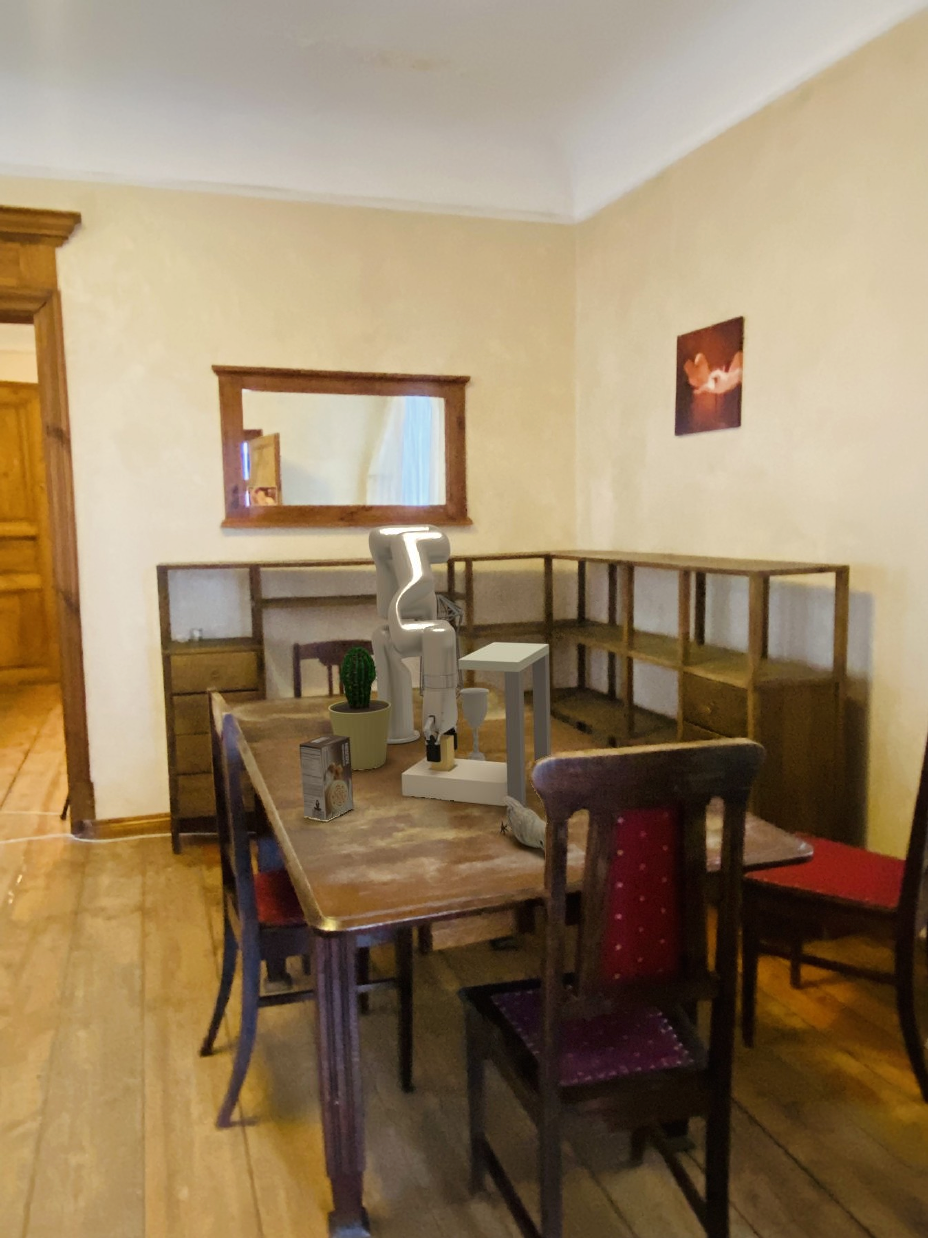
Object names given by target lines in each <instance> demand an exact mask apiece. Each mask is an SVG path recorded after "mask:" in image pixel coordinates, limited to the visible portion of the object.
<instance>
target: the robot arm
mask: <svg viewBox="0 0 928 1238" xmlns="http://www.w3.org/2000/svg"><path fill="white" fill-rule="evenodd" d="M368 548H369V553H370V555H371V557H372V560H373V563H374V566H375V572H376V574H375V575H376V578H375V579H376V609H377V614H378V615H379V617H380V618H381V619H383V620H386V621H387V623H385V624H380V625H378V626H377V627H376V628H374V629H373V631H372V633H371V637H370V638H371V647H372V651H373V658H374V662H375V664H376V666H377V667H376V666H375V667H376V669H375V670H376V671H377V672H376V673H377V674H376V675H377V676H378V677H377V676H376V679H377V680H378V681H377V680H376V691H377V692H376V695H377V696H376V697H377V700H384V701H387V702H389V703H390V704H391V706H390V719H389V729H388V739H387V745H388V744H389V745H391V744H392V745H395V744H406V743H411V742H414V741H417V740H419V738H420V736H421V734H420V732H419V730H417V729H415V726H414V724H415V723H414V705H413V703H414V699H413V696H414V695H413V678H412V673H411V671H410V668H409V667H408V666H407V665H406V664H405V663H404V662H403V661H402V660H403V659H407V658H416V657H417V658H420V656H422V660H423V688H424V689H425V690H423V694H424V695H423V697H422V709H421V710H422V713H421V714H422V718H421V719H422V720H421V721H422V722H421V726H422V727H421V729H422V732H423V735H424V737H423V738H424V740H425V741H424V742H425V743H424V744H425V749H426V750H425V751H426V757H427V761H428V762H438V763H439V762H440V761H441V746H440V744H439V740H440V736H441V735H453V736H454V751H456V750H458V730H459V729H458V723H459V722H458V715H459V710H458V704H457V703H458V702H457V699H458V698H457V696H456V693H457V690H455V688H456V689H457V688H458V687H457V685H458V676H457V675H458V667H457V656H456V635H455V634H456V631H455V628H454V627H453V626H452V625H451V623H449V622H450V621H448V622H447V621H446V620H437V603H436V595H437V594H436V593H435V586H436V582H435V577H434V574H433V570H432V566H431V565H436V564H437V565H438V564H439V565H441V564H445V563H447V562H448V560H449V559H450V557H451V545H450V540H449V538H448V535H447V533H445V531H444V530H442V529H441V528H440V527H437V526H435V525H434V524H430V523H428V524H427V523H425V524H422V523H421V524H392V525H389V524H388V525H382V526H377V527H374V528H372V530H370V532H369V536H368ZM413 619H418V621H415V620H414V621H403V620H413ZM375 664H374V665H375ZM378 665H379V666H378ZM456 698H457V699H456ZM435 735H436V738H434V736H435Z"/></svg>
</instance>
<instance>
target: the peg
mask: <svg viewBox="0 0 928 1238" xmlns="http://www.w3.org/2000/svg"><path fill="white" fill-rule="evenodd" d="M433 736H434V738H436V735H433ZM439 744H440V746H441V761H440V762H439V763H438V762H431V770H436V771H447V772H450V771H451V770H453V769H454V768H455V767H454V758H455V750H454V736H453V735H443V734H441V736H440V740H439Z"/></svg>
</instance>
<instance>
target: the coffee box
mask: <svg viewBox="0 0 928 1238" xmlns="http://www.w3.org/2000/svg"><path fill="white" fill-rule="evenodd" d="M299 759H300V771H301V773H300V774H301V785H302V787H301V788H302V800H303V803H302V804H303V817H304V816H308V817H311V818H317V819H320V820H329V819H331V818H333V817H335V816H338V815H339V814H341V813H344V812H345V811H348V810H350V809H353V808H354V806H355V805H354V790H353V789H354V788H353V775H352V773H353V770H352V768H351V752H350V737H346V736H339V735H334V734H328V733H326V734H324V735H321V736H319V737H315V738H313V739H310V740H307V741H305V742H301V743H299ZM353 810H354V809H353Z"/></svg>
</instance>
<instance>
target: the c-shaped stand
mask: <svg viewBox="0 0 928 1238" xmlns="http://www.w3.org/2000/svg"><path fill="white" fill-rule="evenodd" d="M458 659H459V658H458ZM458 663H459V669H461V670H464V671H465V670H468V671H470V670H471V671H488V672H490V671H493V672H504V704H505V705H504V706H505V743H506V745H505V746H506V749H505V751H506V763H507V794H508V796H510V797H512V798H514V799H515V800H517V801H518V802H519V803H520V804H521V805H523V806H525V807H527V793H526V792H527V791H526V789H527V784H526V782H527V781H526V744H525V743H526V741H525V740H526V739H525V738H526V737H525V736H526V735H525V699H524V698H525V697H524V692H525V690H524V688H525V687H524V669H526V668H527V667H529V666H530V665H532V668H531V669H532V704H533V705H532V706H533V707H532V709H533V712H532V713H533V755H534V757H533V758H534V759H533V760H534V761H536V760H538V759H540V758H542V757H545V756H549V755H551V756H552V751H551V750H552V742H551V739H552V737H551V736H552V735H551V692H550V690H551V689H550V688H551V687H550V686H551V684H550V683H551V680H550V679H551V678H550V644H549V643H527V642H502V641H501V642H499V641H498V642H497V641H494V642H492V643H490V644H488V645H485V646H483V647H481V648H480V649H477V650H476V651H473V652H470V653H469V654H467V655H465V656H463V657H460V659H459V660H458Z"/></svg>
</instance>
